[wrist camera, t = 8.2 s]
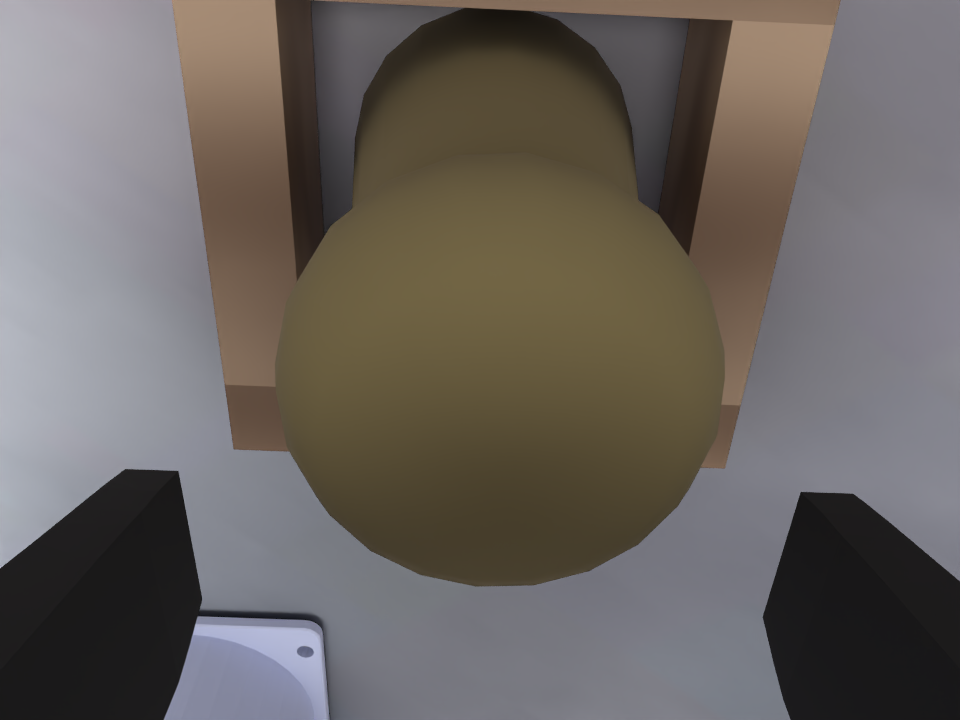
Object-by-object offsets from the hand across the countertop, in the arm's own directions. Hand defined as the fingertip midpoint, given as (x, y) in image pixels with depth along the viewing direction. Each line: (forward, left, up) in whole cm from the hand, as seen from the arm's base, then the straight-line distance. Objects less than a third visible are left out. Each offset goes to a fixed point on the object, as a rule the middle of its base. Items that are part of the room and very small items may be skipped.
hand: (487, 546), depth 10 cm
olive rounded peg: (+2, 0, -11) cm, 11 cm away
